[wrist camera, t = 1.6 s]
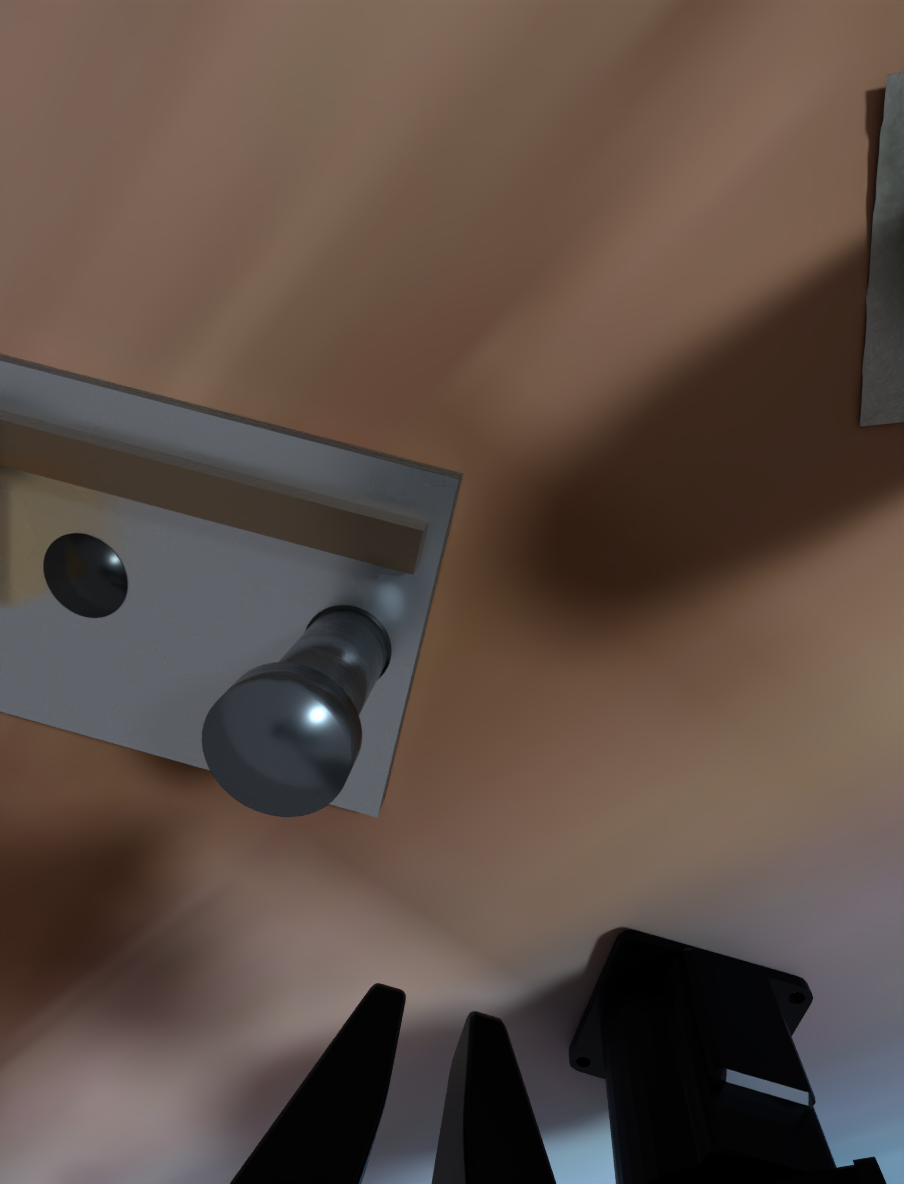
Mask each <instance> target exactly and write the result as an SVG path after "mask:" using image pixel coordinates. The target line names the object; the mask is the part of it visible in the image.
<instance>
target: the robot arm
mask: <svg viewBox="0 0 904 1184" xmlns="http://www.w3.org/2000/svg"><path fill="white" fill-rule="evenodd" d="M631 945H633V946H635V947H628V946H631ZM794 992H795V993H794ZM812 1000H813V996H812V993H811V990H810V988H809V986H808V984H807V982H806V981H805V980H804V979H803V978H800V977H798V976H795V975H791V974H788V973H784V972H781V971H777V970H774V969H770V968H767V967H763V966H759V965H756V964H752V963H749V962H745V961H742V960H738V959H735V958H731V957H728V956H724V955H721V954H717V953H714V952H710V951H707V950H703V949H700V948H696V947H693V946H689V945H685V944H682V943H678V942H675V941H671V940H668V939H664V938H661V937H657V936H654V935H650V934H647V933H643V932H640V931H636V930H626V931H623V932H621V933H620V934H619V935H618V936H617V938H616V940H615V943H614V945H613V947H612V950H611V952H610V954H609V957H608V959H607V961H606V963H605V966H604V968H603V970H602V973H601V975H600V977H599V980H598V982H597V984H596V987H595V989H594V991H593V994H592V996H591V998H590V1000H589V1003H588V1005H587V1007H586V1010H585V1012H584V1014H583V1017H582V1019H581V1021H580V1024H579V1026H578V1028H577V1031H576V1033H575V1035H574V1038H573V1040H572V1042H571V1044H570V1047H569V1063H570V1065H571V1067H573V1068H574V1069H575V1070H577V1071H579V1072H583V1073H586V1074H590V1075H593V1076H596V1077H600V1078H603V1079H606V1089H607V1099H608V1109H609V1119H610V1129H611V1139H612V1149H613V1159H614V1169H615V1179H616V1184H886V1181H885V1179H884V1177H883V1174H882V1172H881V1170H880V1168H879V1165H878V1163H877V1161H876V1158H875V1157H869V1158H863V1159H857V1160H853V1162H854V1165H850V1166H844V1167H838V1168H837V1167H836V1164H835V1162H834V1159H833V1157H832V1154H831V1151H830V1149H829V1146H828V1143H827V1141H826V1138H825V1136H824V1133H823V1130H822V1128H821V1125H820V1122H819V1120H818V1117H817V1115H816V1112H815V1109H814V1107H813V1106H814V1104H815V1103H816V1101H815V1096H814V1093H813V1091H812V1088H811V1086H810V1083H809V1080H808V1078H807V1075H806V1073H805V1070H804V1068H803V1065H802V1062H801V1060H800V1057H799V1055H798V1052H797V1050H796V1047H795V1044H794V1042H793V1039H792V1037H791V1036H792V1035H793V1033H794V1031H795V1030H796V1028H797V1026H798V1025H799V1023H800V1021H801V1020H802V1018H803V1016H804V1014H805V1013H806V1011H807V1009H808V1008H809V1006H810V1004H811V1003H812ZM405 1001H406V995H405V993H404V991H402V990H401V989H397V988H394V987H390V986H387V985H384V984H380V983H377V984H374V985H373V986H372V987H371V988H370V989H369V991H368V992H367V993H366V995H365V996H364V998H363V999H362V1000H361V1002H360V1003H359V1005H358V1006H357V1007H356V1009H355V1010H354V1011H353V1013H352V1014H351V1016H350V1017H349V1018H348V1020H347V1021H346V1023H345V1024H344V1025H343V1027H342V1028H341V1030H340V1031H339V1032H338V1034H337V1035H336V1037H335V1038H334V1039H333V1041H332V1042H331V1044H330V1045H329V1046H328V1048H327V1049H326V1050H325V1052H324V1053H323V1055H322V1056H321V1057H320V1059H319V1060H318V1062H317V1063H316V1064H315V1066H314V1067H313V1069H312V1070H311V1071H310V1073H309V1074H308V1076H307V1077H306V1078H305V1080H304V1081H303V1083H302V1084H301V1085H300V1087H299V1088H298V1089H297V1091H296V1092H295V1094H294V1095H293V1096H292V1098H291V1099H290V1101H289V1102H288V1103H287V1105H286V1106H285V1108H284V1109H283V1110H282V1112H281V1113H280V1115H279V1116H278V1117H277V1119H276V1120H275V1122H274V1123H273V1124H272V1126H271V1127H270V1128H269V1130H268V1131H267V1133H266V1134H265V1135H264V1137H263V1138H262V1140H261V1141H260V1142H259V1144H258V1145H257V1147H256V1148H255V1149H254V1151H253V1152H252V1154H251V1155H250V1156H249V1158H248V1159H247V1161H246V1162H245V1163H244V1165H243V1166H242V1167H241V1169H240V1170H239V1172H238V1173H237V1174H236V1176H235V1177H234V1179H233V1180H232V1181H231V1183H230V1184H361V1183H362V1180H363V1177H364V1174H365V1170H366V1167H367V1164H368V1160H369V1157H370V1154H371V1150H372V1147H373V1144H374V1140H375V1137H376V1134H377V1130H378V1127H379V1124H380V1120H381V1117H382V1114H383V1111H384V1107H385V1103H386V1098H387V1094H388V1090H389V1085H390V1079H391V1074H392V1069H393V1064H394V1059H395V1053H396V1048H397V1043H398V1038H399V1032H400V1027H401V1022H402V1017H403V1012H404V1006H405ZM432 1184H556V1181H555V1178H554V1175H553V1172H552V1169H551V1166H550V1162H549V1159H548V1156H547V1153H546V1150H545V1147H544V1144H543V1141H542V1138H541V1135H540V1131H539V1128H538V1125H537V1122H536V1119H535V1116H534V1113H533V1110H532V1107H531V1104H530V1100H529V1097H528V1094H527V1091H526V1088H525V1085H524V1082H523V1079H522V1076H521V1073H520V1069H519V1066H518V1063H517V1060H516V1057H515V1054H514V1051H513V1048H512V1045H511V1041H510V1038H509V1035H508V1032H507V1029H506V1027H505V1024H504V1023H503V1021H502V1020H501V1019H499V1018H497V1017H494V1016H490V1015H487V1014H483V1013H480V1012H477V1011H473V1012H471V1013H470V1014H469V1015H468V1017H467V1019H466V1022H465V1025H464V1028H463V1031H462V1034H461V1037H460V1039H459V1042H458V1045H457V1048H456V1051H455V1054H454V1057H453V1061H452V1065H451V1070H450V1075H449V1080H448V1086H447V1093H446V1099H445V1105H444V1111H443V1117H442V1123H441V1129H440V1135H439V1141H438V1147H437V1153H436V1160H435V1166H434V1172H433V1178H432Z"/></svg>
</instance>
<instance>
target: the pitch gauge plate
mask: <svg viewBox="0 0 904 1184" xmlns="http://www.w3.org/2000/svg"><path fill="white" fill-rule="evenodd" d="M462 476H463V474H461V473H457V472H453V471H449V470H445V469H442V468H438V467H434V466H430V465H426V464H422V463H418V462H415V461H411V460H407V459H403V458H399V457H395V456H391V455H388V454H384V453H380V452H376V451H372V450H368V449H364V448H361V447H357V446H353V445H349V444H345V443H341V442H337V441H334V440H330V439H326V438H322V437H318V436H314V435H310V434H307V433H303V432H299V431H295V430H291V429H287V428H283V427H280V426H276V425H272V424H268V423H264V422H260V421H256V420H253V419H249V418H245V417H241V416H237V415H233V414H229V413H226V412H222V411H218V410H214V409H210V408H206V407H202V406H199V405H195V404H191V403H187V402H183V401H179V400H175V399H172V398H168V397H164V396H160V395H156V394H152V393H148V392H145V391H141V390H137V389H133V388H129V387H125V386H121V385H117V384H114V383H110V382H106V381H102V380H98V379H94V378H90V377H87V376H83V375H79V374H75V373H71V372H67V371H63V370H60V369H56V368H52V367H48V366H44V365H40V364H36V363H33V362H29V361H25V360H21V359H17V358H13V357H9V356H6V355H2V354H0V712H4V713H7V714H11V715H15V716H18V717H22V718H25V719H29V720H32V721H36V722H39V723H43V724H47V725H50V726H54V727H57V728H61V729H64V730H68V731H71V732H75V733H79V734H82V735H86V736H89V737H93V738H96V739H100V740H103V741H107V742H110V743H114V744H118V745H121V746H125V747H128V748H132V749H135V750H139V751H142V752H146V753H150V754H153V755H157V756H160V757H164V758H167V759H171V760H174V761H178V762H182V763H185V764H189V765H192V766H196V767H199V768H203V769H206V770H210V771H211V773H212V775H213V776H214V778H215V779H216V781H217V782H218V783H219V784H220V785H221V787H222V788H223V789H224V790H225V791H226V792H227V793H228V794H230V795H231V796H232V797H233V798H235V799H236V800H237V801H239V802H240V803H242V804H244V805H245V806H247V807H249V808H251V809H254V810H256V811H259V812H262V813H265V814H269V815H273V816H281V817H295V816H303V815H307V814H311V813H313V812H316V811H318V810H320V809H322V808H324V807H325V806H327V805H328V804H331V805H334V806H338V807H342V808H345V809H349V810H352V811H356V812H359V813H363V814H366V815H370V816H374V817H377V818H378V815H379V812H380V809H381V806H382V804H383V801H384V798H385V794H386V790H387V786H388V781H389V777H390V773H391V769H392V765H393V761H394V757H395V753H396V748H397V744H398V740H399V736H400V732H401V728H402V724H403V719H404V715H405V711H406V707H407V703H408V699H409V695H410V691H411V686H412V682H413V678H414V674H415V670H416V666H417V662H418V658H419V653H420V649H421V645H422V641H423V637H424V633H425V629H426V624H427V620H428V616H429V612H430V608H431V604H432V600H433V596H434V591H435V587H436V583H437V579H438V575H439V571H440V567H441V563H442V558H443V554H444V550H445V546H446V542H447V538H448V534H449V529H450V525H451V521H452V517H453V513H454V509H455V505H456V501H457V496H458V492H459V488H460V484H461V480H462Z"/></svg>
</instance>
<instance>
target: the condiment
mask: <svg viewBox="0 0 904 1184" xmlns="http://www.w3.org/2000/svg"><path fill="white" fill-rule="evenodd" d="M866 304H867V322H866V327H867V329H866V342H865V350H864V358H863V369H862V374H863V388H862V404H861V418H860V426H861V427H862V426H871V425H880V424H891V423H901V422H904V72H899V73H894V74H889V75H887V83H886V91H885V102H884V120H883V123H882V127H881V132H880V148H879V159H878V169H877V179H876V201H875V207H874V212H873V225H872V241H871V257H870V273H869V284H868V288H867V297H866Z"/></svg>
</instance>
